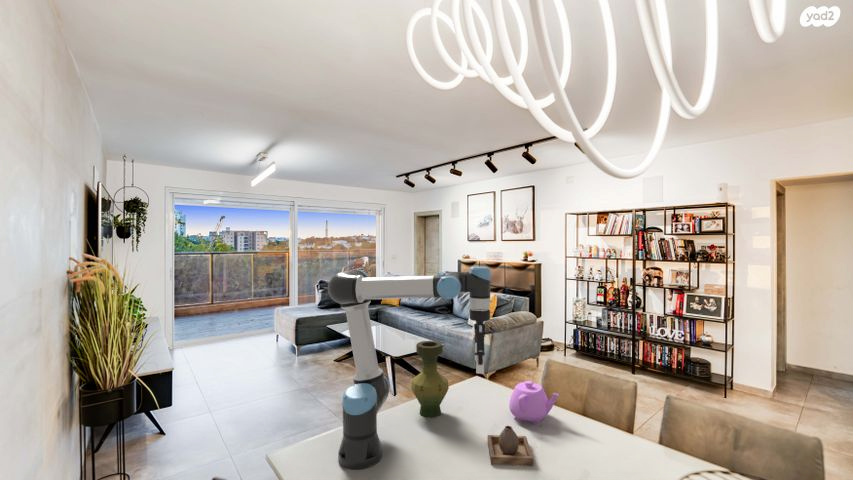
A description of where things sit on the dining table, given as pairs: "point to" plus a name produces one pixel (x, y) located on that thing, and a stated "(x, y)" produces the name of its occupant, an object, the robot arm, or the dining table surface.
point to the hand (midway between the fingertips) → (479, 366)
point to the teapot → (530, 402)
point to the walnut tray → (519, 458)
